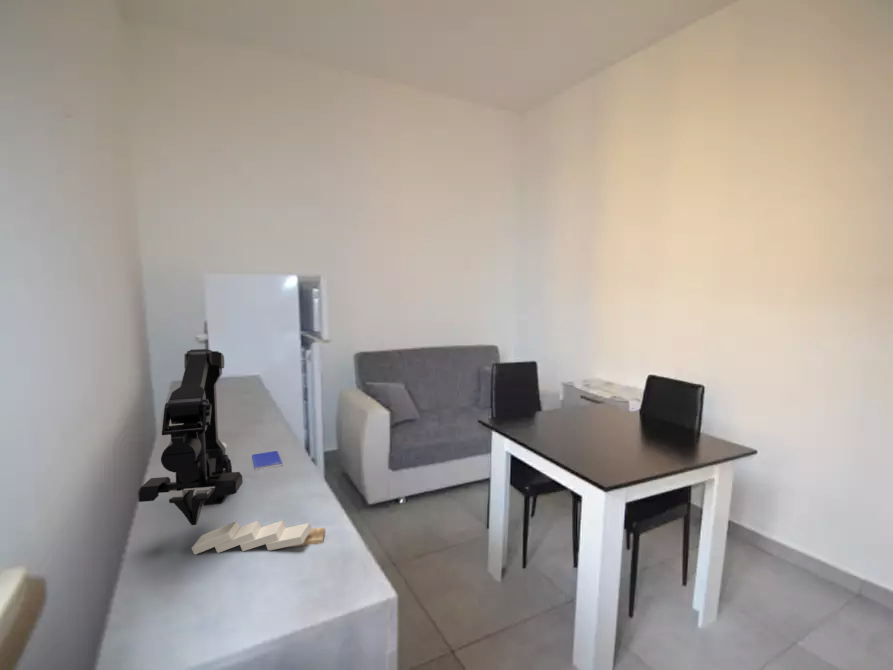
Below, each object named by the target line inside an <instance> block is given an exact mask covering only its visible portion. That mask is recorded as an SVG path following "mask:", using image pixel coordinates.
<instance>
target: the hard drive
mask: <svg viewBox="0 0 893 670" xmlns="http://www.w3.org/2000/svg"><path fill="white" fill-rule="evenodd" d="M251 460H253V461H252V465H253V469H254V471H255V470H257V471H259V470H258V469H262V470H265V469H264V468H268V469H272V468H271V467H273V468H277V467H276V466H279V467H282V466H281V465H283V462H282V458H281V455H280V454H279V452H278V451H277V450H274V451H267V452H261V453H255V454H252V455H251Z"/></svg>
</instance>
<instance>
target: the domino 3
mask: <svg viewBox="0 0 893 670" xmlns="http://www.w3.org/2000/svg"><path fill="white" fill-rule="evenodd" d="M285 528H287V526H286V524H285V521H284V520H280V521H277V522H275V523H271V524H267V525H264V526H261V528H260V530H259V532H258V534H257V536H256V537H255V539H254V540H251V541H248V542H246V543H243V544H240V545H239V546H240V548H241V551H242V552H245V551H248V550H251V549H254V548H257V547H261V546H264V545H266V544H267V543H270V542H273V541H276V540H279V538H280V536H281V534H282V533H283V531H284V529H285Z"/></svg>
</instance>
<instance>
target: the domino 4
mask: <svg viewBox="0 0 893 670" xmlns="http://www.w3.org/2000/svg"><path fill="white" fill-rule="evenodd" d="M312 529H313V528H312V526H311V523H310V522H307V523H303V524H302V523H301V524H298V525H294V526H289V527H285V529H284V531H283V533H282V534H281V536H280V538H279V540H276V541H273V542H270V543H267V544H265V546H266V550H267V551H268V552H269V551H273V550H278V549H283V548H290V547H289V546H293V547H295V546H294V545H298V544H303V542H304V541H305V539H306V537H307V536H308V534H309V533H310V531H311V530H312Z"/></svg>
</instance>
